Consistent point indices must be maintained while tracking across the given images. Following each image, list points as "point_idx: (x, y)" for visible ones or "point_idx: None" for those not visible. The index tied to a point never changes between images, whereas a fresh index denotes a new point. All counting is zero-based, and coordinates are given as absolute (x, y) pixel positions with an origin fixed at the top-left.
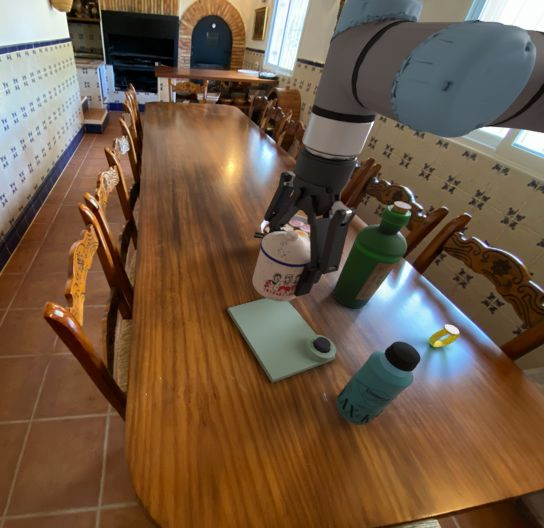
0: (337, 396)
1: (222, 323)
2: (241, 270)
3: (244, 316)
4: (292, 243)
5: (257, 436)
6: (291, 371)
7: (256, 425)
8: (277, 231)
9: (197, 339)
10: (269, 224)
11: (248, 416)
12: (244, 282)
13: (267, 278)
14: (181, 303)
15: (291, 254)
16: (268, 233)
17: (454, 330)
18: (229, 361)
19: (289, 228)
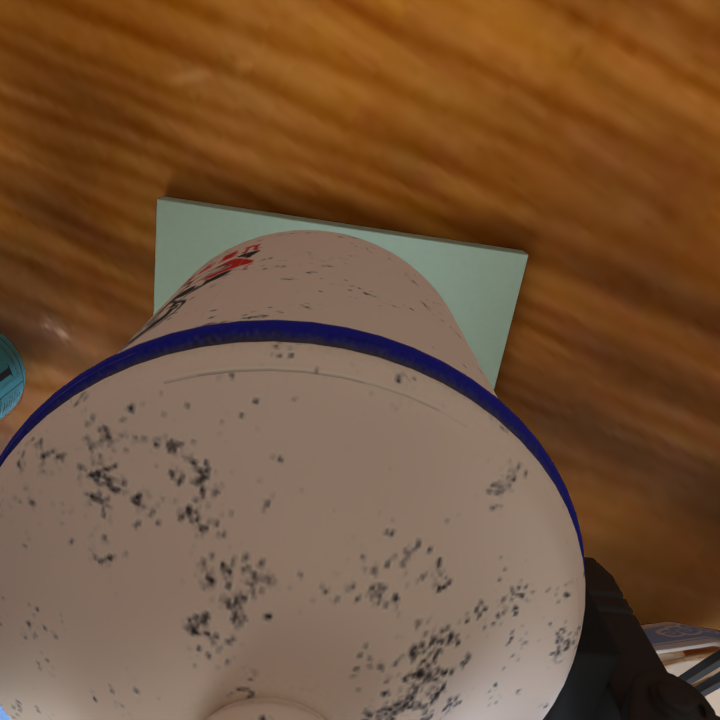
0: (2, 347)
1: (480, 190)
2: (671, 447)
3: (452, 290)
4: (161, 690)
5: (9, 3)
6: (160, 285)
7: (45, 27)
8: (573, 703)
9: (467, 30)
10: (704, 711)
11: (84, 21)
12: (608, 415)
13: (236, 272)
14: (683, 75)
15: (65, 556)
16: (638, 623)
17: None
18: (310, 100)
19: None
